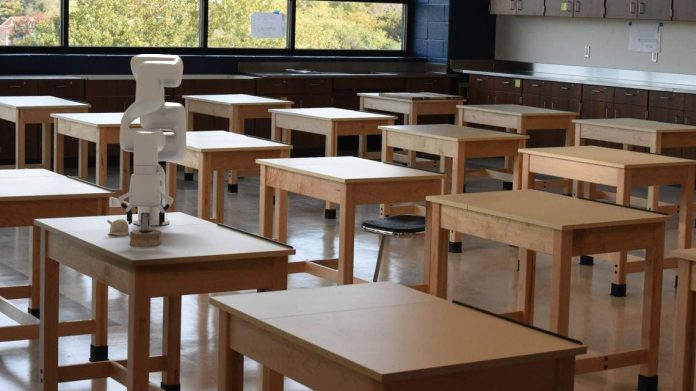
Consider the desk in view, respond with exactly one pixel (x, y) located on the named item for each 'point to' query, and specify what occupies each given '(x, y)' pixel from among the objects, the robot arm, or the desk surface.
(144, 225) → the grey square post
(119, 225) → the decorative ornament
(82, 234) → the desk surface
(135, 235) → the bead
